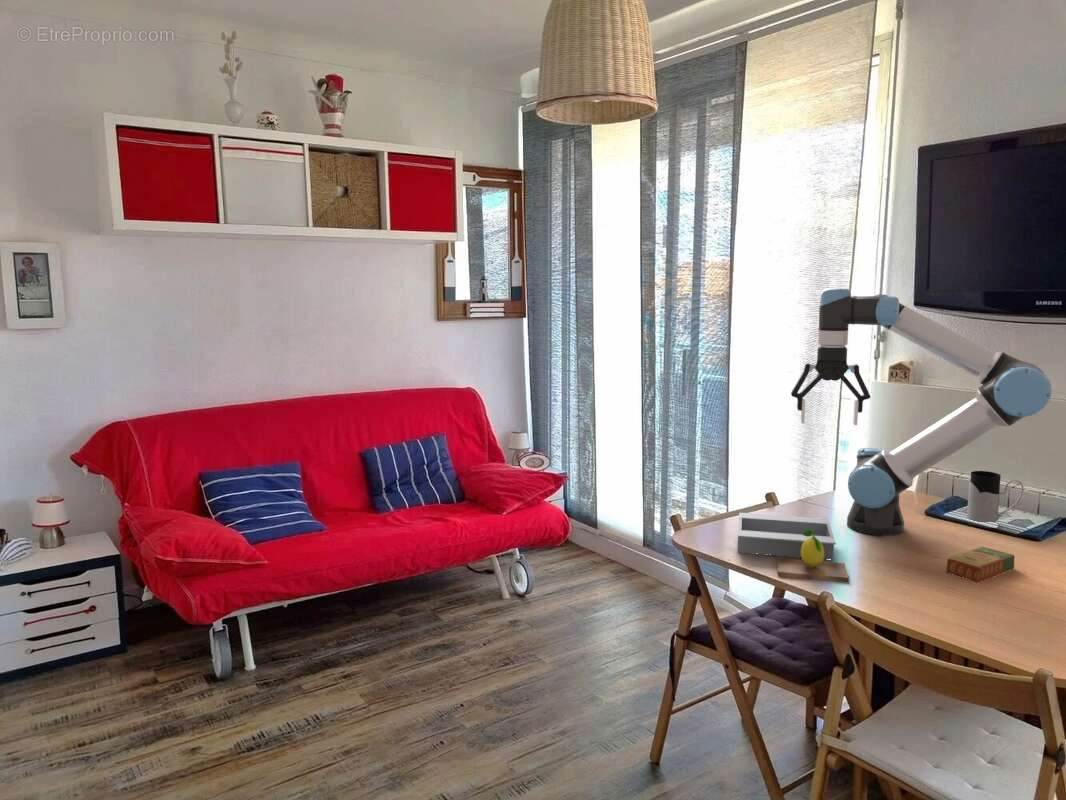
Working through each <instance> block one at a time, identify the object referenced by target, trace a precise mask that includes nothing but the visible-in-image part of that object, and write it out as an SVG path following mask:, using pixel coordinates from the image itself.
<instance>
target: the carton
mask: <svg viewBox="0 0 1066 800" xmlns="http://www.w3.org/2000/svg"><path fill="white" fill-rule="evenodd" d="M1013 569H1014V570H1015V554H1012V553H1008V552H1005V551H1000V550H996V549H992V548H988V547H984V546H980V547H977V548H975V549H972V550H968V551H965V552H963V553H960V554H956V555H953V556H951V557H948V558H947V559H946V572H947V573H946V574H949V573H950V574H949V575H952V574H954V575H953V576H955V575H957V577H959V576H960V577H959V578H962V577H964V578H963V579H965V578H967V579H966V580H968V579H969V580H968V581H971V580H972V581H971V582H974V581H975V583H977V582H980V583H982V582H981V581H983V582H985V581H988V580H990V579H989V578H991V579H993V578H995V577H994V576H996V577H998V576H1000V575H999V574H1001V575H1003V574H1002V573H1004V572H1006V573H1008V572H1007V571H1009V570H1012V571H1014V570H1013ZM1009 572H1010V571H1009ZM1004 574H1005V573H1004ZM997 575H998V576H997ZM992 577H993V578H992ZM987 579H988V580H987ZM984 580H985V581H984Z"/></svg>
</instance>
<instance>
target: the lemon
mask: <svg viewBox="0 0 1066 800" xmlns="http://www.w3.org/2000/svg"><path fill="white" fill-rule="evenodd" d="M803 535H804V536H813V537H812V538H809V539H807V540H805V541H804V543H803V544H802V547H801V557H802V558H801V560H803V561H804V562H805V563H806V564H808V565H809V566H810V567H811V568H813V567H814V566H816V565H819V564H821V563H822V562H824V561H825V560H824V547H823V545H822V543H821V542H820V541H819V540H818V539H817V538H815V537H814V529H813V532H812V531H811V530H810V529H806V530H805V531H804V533H803Z"/></svg>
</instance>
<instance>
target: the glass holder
mask: <svg viewBox="0 0 1066 800" xmlns="http://www.w3.org/2000/svg"><path fill="white" fill-rule="evenodd" d="M1012 482H1017V483H1019V484H1020V486H1021V490H1020V493H1019V497H1018V498H1017V500H1016V501H1015V502H1014V504H1012V505H1011V506H1009V507H1008V508H1006V509H1005V510H1003V511H1001V512H1000V513H999V509H1000V508H999V507H1000V506H999V505H1000V499H1001V497H1000V496H1001V495H1004V494H1007V492H1008V486H1009V485H1010V483H1012ZM1000 487H1001V474H999V473H997V472H993V471H986V470H972V471H971V472H970V480H969V485H968V497H967V508H966V511H967V512H966V518H969V519H970V520H973V521H977V522H996V521H997V520H999V519H1000V516H1002V515H1003V514H1005V513H1007V512H1008V511H1010V510H1012V509H1013V508H1014V507H1015V506H1016V505H1017V504H1018V503H1019V502H1020V500H1021V498H1022V496H1023V493H1024V485H1023V482H1021V481H1019V480H1017V479H1011V480H1009V481H1008V482H1007V483H1006V484H1005V487H1004V491H1002V492H1000ZM997 522H998V521H997Z"/></svg>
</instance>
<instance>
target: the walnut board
mask: <svg viewBox="0 0 1066 800" xmlns="http://www.w3.org/2000/svg"><path fill="white" fill-rule="evenodd" d="M776 567H777V568H778V569H777V568H776V569H777V577H779V576H782V577H781V578H789V579H790V578H792V579H801V578H807V579H806V580H812V579H818V580H817V581H824V580H825V581H826V582H838V583H846V582H848V583H850V582H849V581H850V577H849V573H848V571H847V567H846V564H845V563H844V562H834V561H823V562H822V563H821V564H819V565H816V566H814V567H813V568H811V567H810V566H809V565H808V564H806V563H805V562H804V561H803V560H802V559H800V558H788V557H787V558H786V557H777V558H776Z"/></svg>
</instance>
